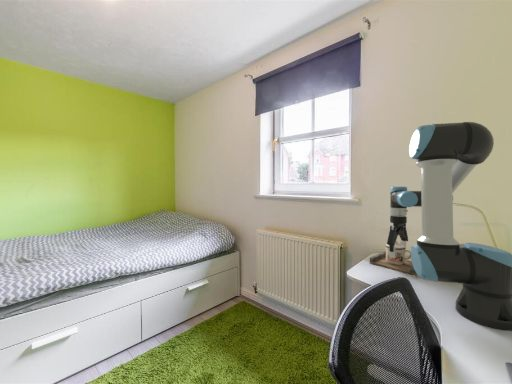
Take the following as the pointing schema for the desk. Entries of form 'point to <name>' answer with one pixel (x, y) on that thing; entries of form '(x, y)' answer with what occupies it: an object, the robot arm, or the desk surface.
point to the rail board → (381, 261)
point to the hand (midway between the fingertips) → (397, 255)
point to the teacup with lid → (397, 254)
